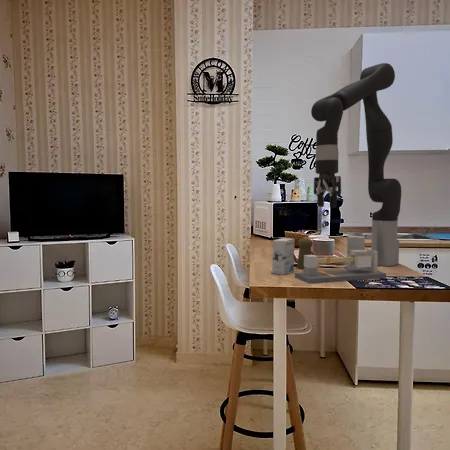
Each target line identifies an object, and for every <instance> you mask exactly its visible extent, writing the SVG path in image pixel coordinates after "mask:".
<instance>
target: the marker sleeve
mask: <svg viewBox="0 0 450 450" xmlns="http://www.w3.org/2000/svg"><path fill="white" fill-rule="evenodd" d="M346 252H347V253H346V254H347V255H346V257H353V256H355V261H352V262H346V266H347V265H355V267H357V268H362V267H364V268H366V267H371V252H370V251H366V250H361V249H358V250H347V251H346Z"/></svg>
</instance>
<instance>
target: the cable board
mask: <svg viewBox="0 0 450 450" xmlns="http://www.w3.org/2000/svg"><path fill="white" fill-rule="evenodd" d="M365 251H370V252H371V267H364V268H362V269H347V268H346V269H333V270H318V266H319V264H327V265H328V264H331V263H333V264H334V263H347V262H352V261H355V256H353V257H347V256H339V257H328V256H324V257H318V255H314V254H312V255H304V270H303V271H302V272H295V273H294V278H295V279H298V280H300V281H302V282H305V283H308V284H309V283H310V284H319V283H320V284H321V283H322V284H324V283H323V282H325V283H338V282H350V281H363V280H376V279H378V280H379V279H387V272H384V271H379V270H378V265H377V261H378V251H372V250H371V249H366V250H365Z"/></svg>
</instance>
